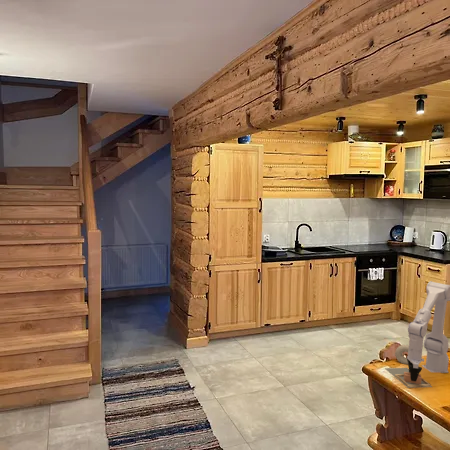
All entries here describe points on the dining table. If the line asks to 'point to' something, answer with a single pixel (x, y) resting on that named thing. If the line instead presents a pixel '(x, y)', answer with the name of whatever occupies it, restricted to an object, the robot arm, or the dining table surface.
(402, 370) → the mat
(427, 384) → the frame
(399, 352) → the donut
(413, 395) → the dining table surface
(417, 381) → the reddish brown block
